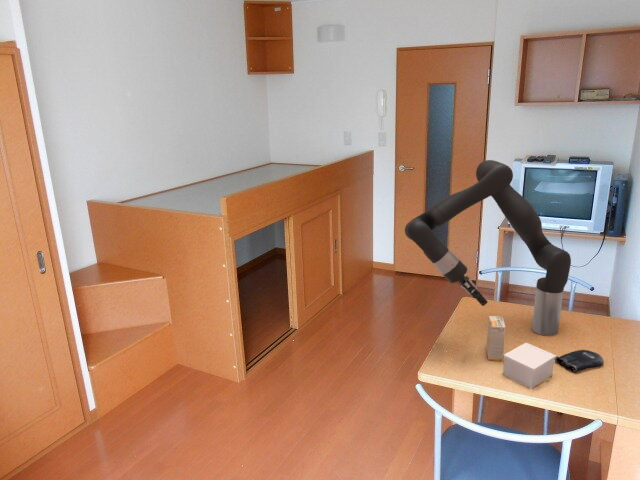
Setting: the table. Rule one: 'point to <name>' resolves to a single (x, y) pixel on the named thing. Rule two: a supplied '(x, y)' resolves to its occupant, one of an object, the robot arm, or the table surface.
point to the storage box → (528, 365)
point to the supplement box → (495, 338)
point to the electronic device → (580, 360)
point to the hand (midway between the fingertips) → (482, 300)
